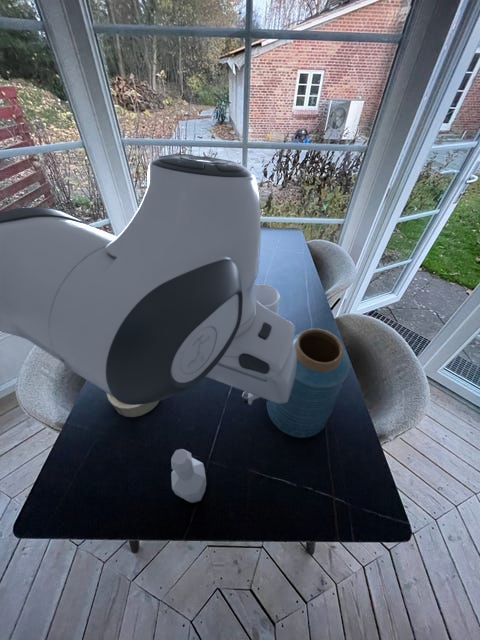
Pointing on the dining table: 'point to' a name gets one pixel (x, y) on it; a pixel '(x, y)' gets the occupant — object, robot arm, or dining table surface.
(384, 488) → the dining table surface
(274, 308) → the cup
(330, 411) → the vase
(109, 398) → the bowl
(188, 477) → the faceted bottle
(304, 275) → the dining table surface
